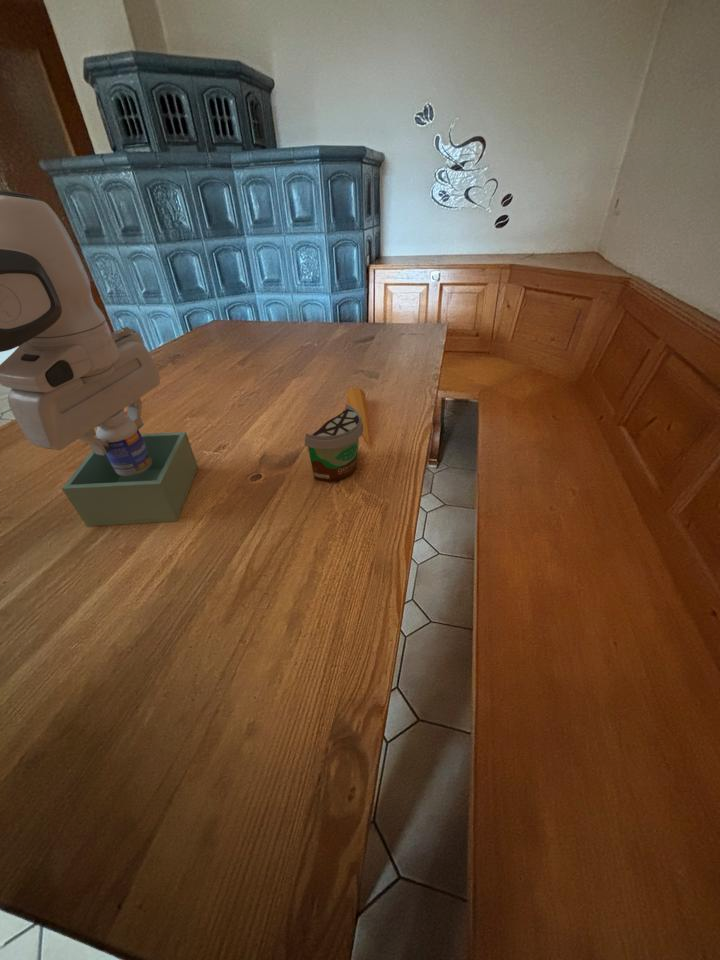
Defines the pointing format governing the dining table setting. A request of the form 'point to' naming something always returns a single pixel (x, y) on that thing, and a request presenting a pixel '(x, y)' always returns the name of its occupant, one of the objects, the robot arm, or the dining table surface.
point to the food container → (335, 446)
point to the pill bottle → (124, 445)
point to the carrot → (360, 409)
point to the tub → (135, 485)
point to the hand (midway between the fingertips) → (120, 439)
